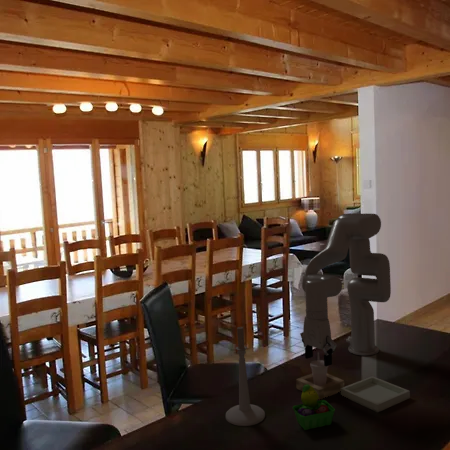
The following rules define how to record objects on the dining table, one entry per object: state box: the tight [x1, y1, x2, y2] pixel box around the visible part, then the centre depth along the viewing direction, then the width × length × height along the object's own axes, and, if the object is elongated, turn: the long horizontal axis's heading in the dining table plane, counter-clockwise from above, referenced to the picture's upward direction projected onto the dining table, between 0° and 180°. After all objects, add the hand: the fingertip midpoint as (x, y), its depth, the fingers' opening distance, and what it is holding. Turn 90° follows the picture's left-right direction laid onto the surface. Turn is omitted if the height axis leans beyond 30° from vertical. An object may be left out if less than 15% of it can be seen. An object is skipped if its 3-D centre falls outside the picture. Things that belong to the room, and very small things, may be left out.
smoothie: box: [309, 351, 329, 387], centre depth 176 cm, size 6×6×14 cm
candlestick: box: [225, 326, 266, 427], centre depth 159 cm, size 13×13×30 cm
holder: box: [295, 372, 346, 401], centre depth 177 cm, size 12×12×4 cm
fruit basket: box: [292, 384, 336, 431], centre depth 153 cm, size 11×9×11 cm
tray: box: [340, 375, 411, 413], centre depth 169 cm, size 16×16×2 cm
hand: (318, 361), depth 175 cm, fingers open, 9 cm apart
